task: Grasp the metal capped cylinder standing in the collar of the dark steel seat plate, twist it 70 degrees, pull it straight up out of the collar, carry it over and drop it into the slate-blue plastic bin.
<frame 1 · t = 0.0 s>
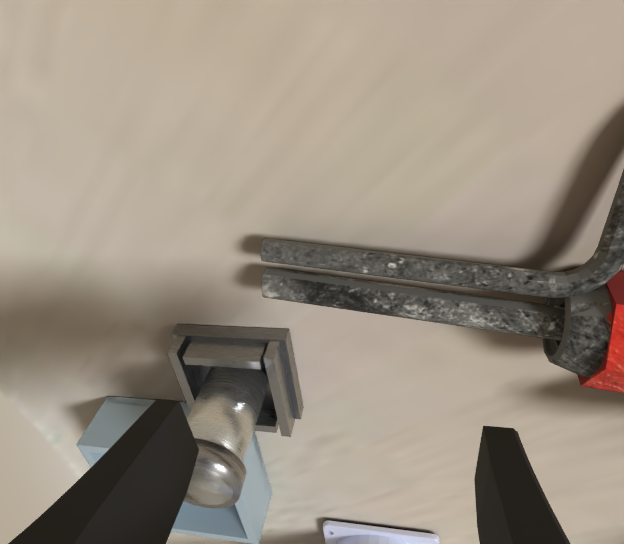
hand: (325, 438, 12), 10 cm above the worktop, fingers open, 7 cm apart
metal capped cylinder: (238, 378, 26), point 1 cm above the worktop, touching seat plate
bin: (194, 447, 32), on the worktop
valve: (597, 231, 19), on the worktop
seat plate: (243, 367, 26), on the worktop
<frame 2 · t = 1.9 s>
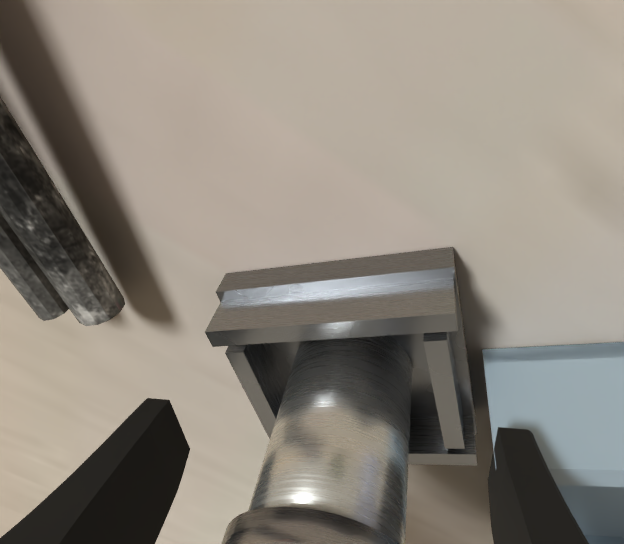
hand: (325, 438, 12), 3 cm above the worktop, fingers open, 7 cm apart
metal capped cylinder: (353, 366, 13), point 1 cm above the worktop, touching seat plate
seat plate: (356, 345, 14), on the worktop
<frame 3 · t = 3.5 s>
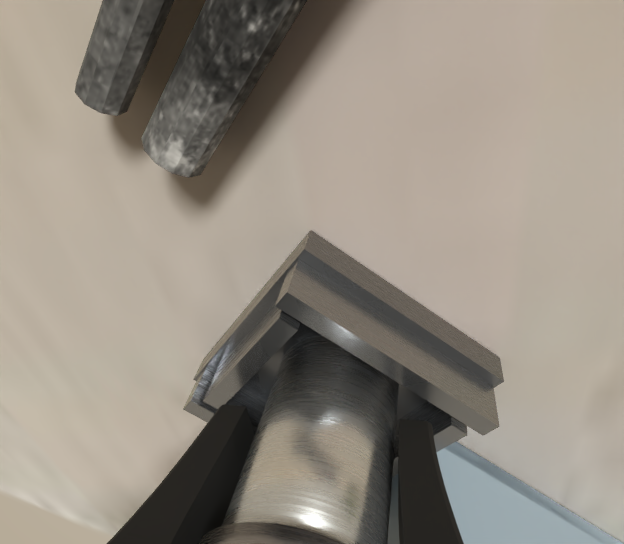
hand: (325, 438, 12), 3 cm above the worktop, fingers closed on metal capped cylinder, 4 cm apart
metal capped cylinder: (338, 381, 13), point 1 cm above the worktop, touching gripper
bin: (433, 530, 18), on the worktop
seat plate: (339, 358, 14), on the worktop
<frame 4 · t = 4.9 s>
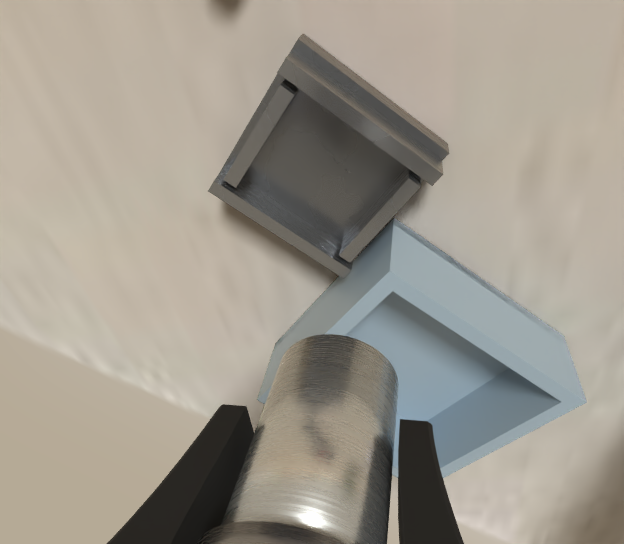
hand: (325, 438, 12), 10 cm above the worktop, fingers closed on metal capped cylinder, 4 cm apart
metal capped cylinder: (337, 380, 13), point 8 cm above the worktop, touching gripper
bin: (408, 340, 22), on the worktop
seat plate: (327, 159, 18), on the worktop
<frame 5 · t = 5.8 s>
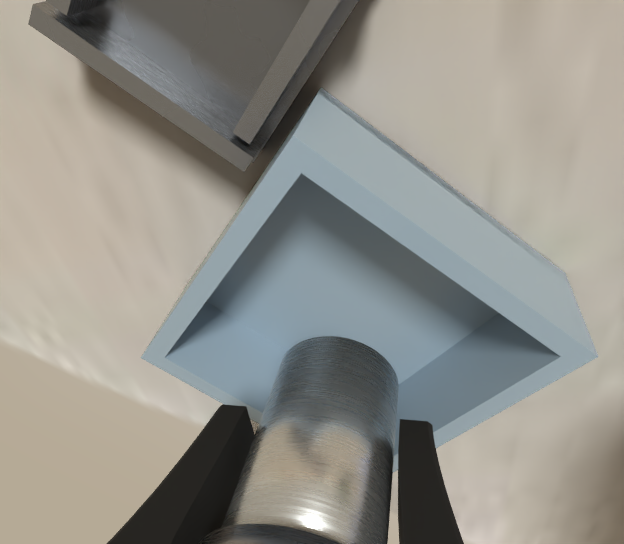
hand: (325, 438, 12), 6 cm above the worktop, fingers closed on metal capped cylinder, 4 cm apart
metal capped cylinder: (337, 382, 13), point 4 cm above the worktop, touching gripper
bin: (355, 282, 16), on the worktop
when the fingers open (5 cm above the worktop, at t = 6.4 s): metal capped cylinder drops 3 cm, resting on bin.
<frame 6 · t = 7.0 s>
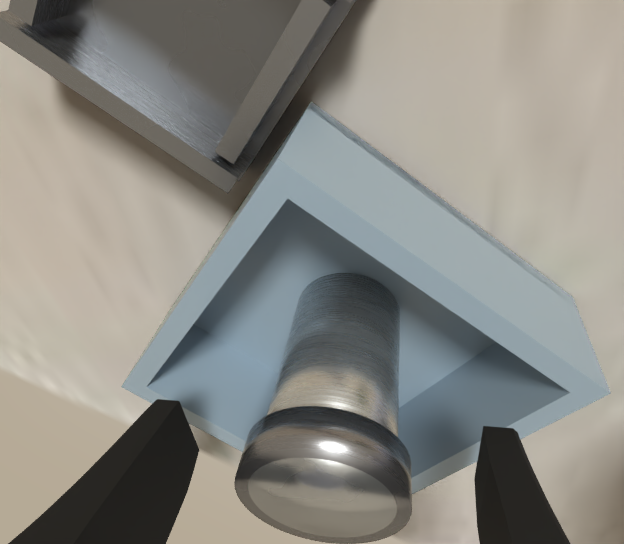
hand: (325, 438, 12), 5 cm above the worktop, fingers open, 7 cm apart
metal capped cylinder: (347, 313, 15), point 1 cm above the worktop, touching bin
bin: (349, 304, 15), on the worktop
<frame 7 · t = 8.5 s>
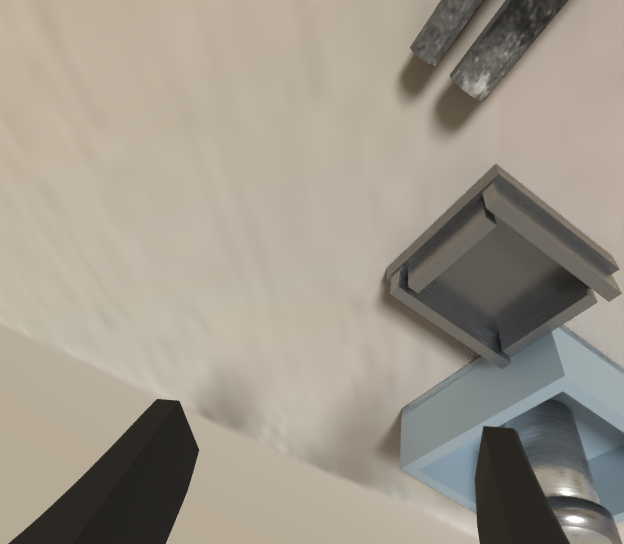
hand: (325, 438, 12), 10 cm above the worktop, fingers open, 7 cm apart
metal capped cylinder: (537, 419, 23), point 1 cm above the worktop, touching bin
bin: (534, 412, 24), on the worktop
seat plate: (493, 262, 19), on the worktop
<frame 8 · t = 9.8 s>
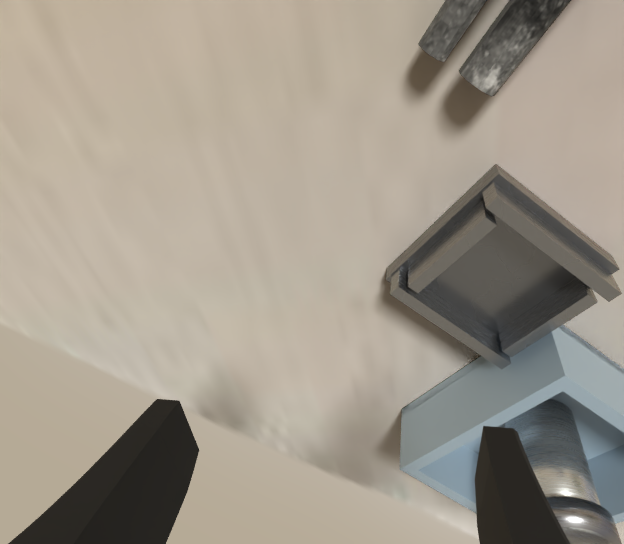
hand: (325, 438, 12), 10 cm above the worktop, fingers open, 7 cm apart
metal capped cylinder: (537, 419, 23), point 1 cm above the worktop, touching bin
bin: (534, 412, 24), on the worktop
seat plate: (493, 262, 19), on the worktop
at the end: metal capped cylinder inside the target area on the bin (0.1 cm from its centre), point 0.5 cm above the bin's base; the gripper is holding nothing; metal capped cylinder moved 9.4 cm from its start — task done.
